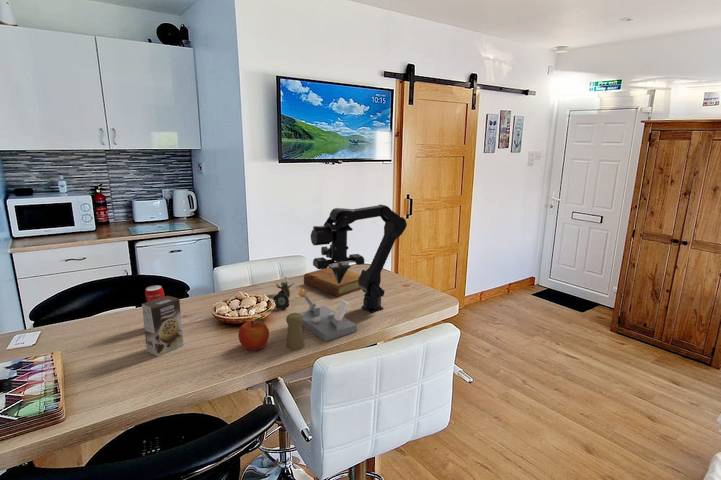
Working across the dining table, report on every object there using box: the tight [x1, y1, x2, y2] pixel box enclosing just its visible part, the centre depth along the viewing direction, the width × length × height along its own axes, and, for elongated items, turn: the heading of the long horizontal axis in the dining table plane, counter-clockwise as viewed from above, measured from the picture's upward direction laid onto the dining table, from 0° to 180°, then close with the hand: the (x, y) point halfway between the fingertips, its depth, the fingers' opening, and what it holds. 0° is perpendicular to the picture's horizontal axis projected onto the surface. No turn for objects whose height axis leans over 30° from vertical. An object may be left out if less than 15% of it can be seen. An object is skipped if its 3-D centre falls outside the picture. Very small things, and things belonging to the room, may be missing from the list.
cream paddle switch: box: [330, 298, 351, 326], centre depth 142 cm, size 2×4×9 cm, turn 28°
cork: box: [285, 312, 305, 351], centre depth 132 cm, size 6×6×11 cm
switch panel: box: [298, 302, 358, 343], centre depth 147 cm, size 13×21×6 cm, turn 38°
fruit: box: [237, 317, 270, 351], centre depth 131 cm, size 10×10×10 cm
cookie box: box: [141, 295, 184, 357], centre depth 128 cm, size 9×6×16 cm
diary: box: [303, 267, 362, 298], centre depth 189 cm, size 23×19×6 cm
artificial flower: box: [272, 276, 296, 310], centre depth 172 cm, size 9×22×10 cm, turn 179°
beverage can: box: [144, 284, 166, 302], centre depth 144 cm, size 6×6×15 cm
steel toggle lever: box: [297, 288, 317, 312], centre depth 150 cm, size 3×3×11 cm
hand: (338, 283), depth 153 cm, fingers closed
